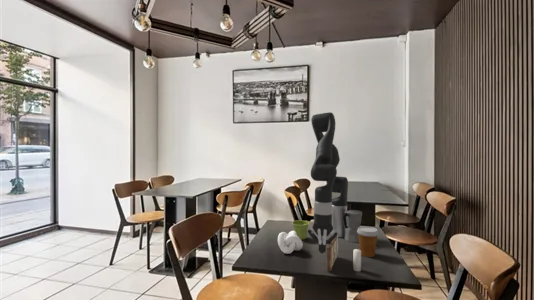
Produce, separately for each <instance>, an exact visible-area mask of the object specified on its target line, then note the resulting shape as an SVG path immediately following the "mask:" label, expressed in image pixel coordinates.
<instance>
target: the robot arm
mask: <svg viewBox="0 0 534 300" xmlns="http://www.w3.org/2000/svg"><path fill="white" fill-rule="evenodd" d="M311 126H312V130H313V133H314V136H315V139H316V142H317V145H316V148H315V159H314V162H313V164H312V167H311V170H310V177H311V179H312V180H313V181H316V182H326V184H325V185H321V186H316V188H315V189H314V203H313V225H312V227H310V228H309V227H308V229H307V234H308V235H309V236H310V237H311V239H312V240H313V241H314V243H317V244H318V251H319V252H320V254H325V253H326V252H327V245H329V244H330V243H331V242H332V241H333V239H334V238H335V237H336V236H337V235H338V238H345V233H346V228H345V225H344V220H343V215H344V213H345V211H348V190H349V189H348V188H349V180H348V178H347V177H346V176H339V175H338V171H337V167H338V166H339V164H340V160H341V159H340V153H339V150H338V148H337V147H336V145H335V144H334V143H333V142H334V139H335V133H336V118H335V115H334V113H333V112H330V111H329V112H323V113H317V114H313V115H312V117H311ZM324 133H325V134H324ZM333 193H337V194H340V195H339V196H337V197H334V198H333ZM337 231H338V232H337ZM328 236H330V237H329V238H328Z"/></svg>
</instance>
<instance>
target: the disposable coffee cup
mask: <svg viewBox="0 0 534 300" xmlns="http://www.w3.org/2000/svg"><path fill="white" fill-rule="evenodd" d="M357 232H358V237H359V242H358V244H359V245H358V246H359V250H361V257H362V256H363V257H364V258H365V257H366V258H373V257H375V254H376V249H377V241H378V235H379V231H378V229H377V228H376V227H371V226H360V227H359V228H358V230H357Z"/></svg>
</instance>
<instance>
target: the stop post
mask: <svg viewBox="0 0 534 300" xmlns="http://www.w3.org/2000/svg"><path fill="white" fill-rule="evenodd" d="M352 252H353V253H352V254H353V256H352V257H353V260H352V267H353V269H352V270H353V271H354V272H361V270H362V255H361V250H360V248H358V249H357V248H355V249H353V251H352Z"/></svg>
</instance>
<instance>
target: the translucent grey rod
mask: <svg viewBox="0 0 534 300" xmlns="http://www.w3.org/2000/svg"><path fill="white" fill-rule="evenodd" d="M337 232H338V231H337ZM336 259H339V237H338V235H337V257H336Z"/></svg>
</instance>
